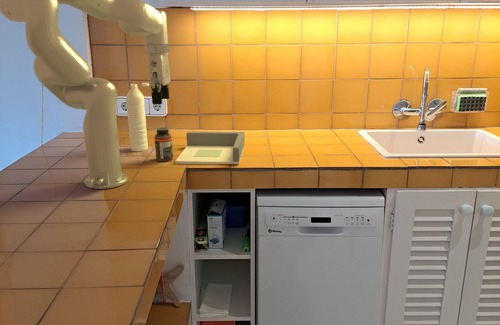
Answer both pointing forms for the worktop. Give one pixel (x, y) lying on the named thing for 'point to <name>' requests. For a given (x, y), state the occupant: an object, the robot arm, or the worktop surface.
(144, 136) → the water bottle
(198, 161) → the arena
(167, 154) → the supplement bottle
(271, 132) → the worktop surface
